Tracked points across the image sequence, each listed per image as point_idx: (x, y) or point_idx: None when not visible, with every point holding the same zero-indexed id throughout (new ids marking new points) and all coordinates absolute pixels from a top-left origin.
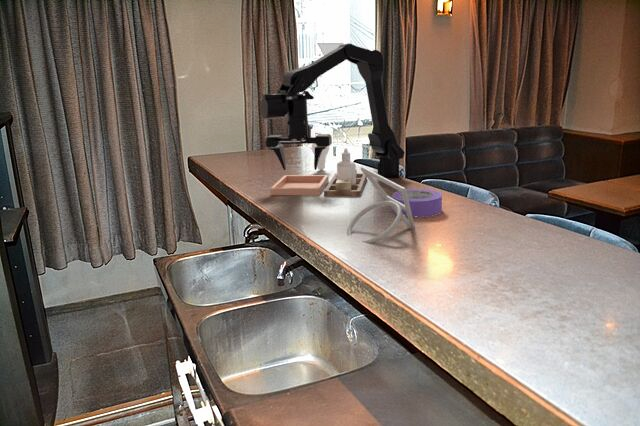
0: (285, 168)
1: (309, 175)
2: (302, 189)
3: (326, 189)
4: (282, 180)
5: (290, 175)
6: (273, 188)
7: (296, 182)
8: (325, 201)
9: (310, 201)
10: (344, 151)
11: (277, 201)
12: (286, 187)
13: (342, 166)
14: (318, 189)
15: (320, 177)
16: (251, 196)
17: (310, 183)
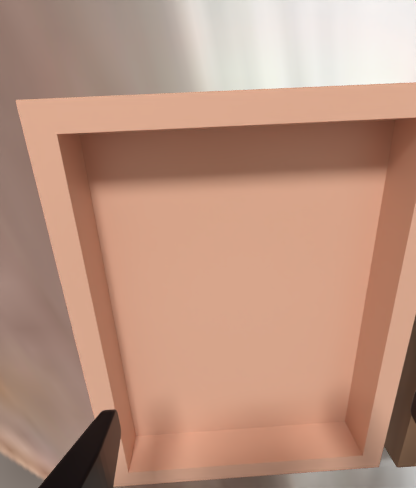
0: (116, 435)
1: (283, 102)
2: (288, 468)
3: (411, 442)
4: (92, 300)
5: (84, 107)
6: (129, 483)
7: (166, 153)
8: (380, 468)
9: (319, 473)
10: None
11: (180, 484)
12: (144, 308)
13: None
14: (372, 461)
15: (382, 119)
16: (18, 435)
17: (285, 186)
